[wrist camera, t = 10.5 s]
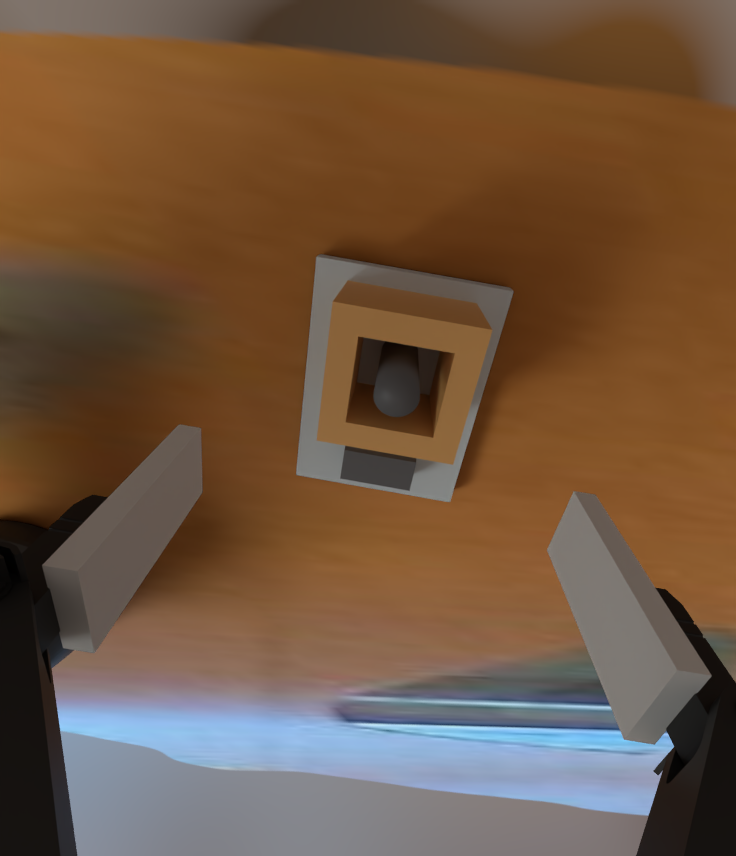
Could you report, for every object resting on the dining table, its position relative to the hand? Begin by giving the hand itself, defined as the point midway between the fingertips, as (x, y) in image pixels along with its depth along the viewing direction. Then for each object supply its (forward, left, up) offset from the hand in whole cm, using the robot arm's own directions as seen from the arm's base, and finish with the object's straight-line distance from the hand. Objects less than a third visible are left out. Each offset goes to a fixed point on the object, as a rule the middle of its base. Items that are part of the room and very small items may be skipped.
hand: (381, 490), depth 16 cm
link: (0, 0, -15) cm, 15 cm away
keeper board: (0, -3, -16) cm, 17 cm away
